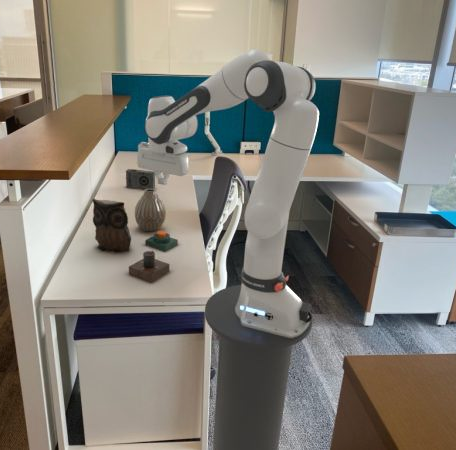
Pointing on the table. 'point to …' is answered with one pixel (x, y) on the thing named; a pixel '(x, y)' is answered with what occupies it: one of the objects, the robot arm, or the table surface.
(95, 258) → the table surface
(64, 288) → the table surface
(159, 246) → the button box
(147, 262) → the rod knob
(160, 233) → the button
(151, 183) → the camera
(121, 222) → the owl
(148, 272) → the knob panel
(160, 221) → the vase
